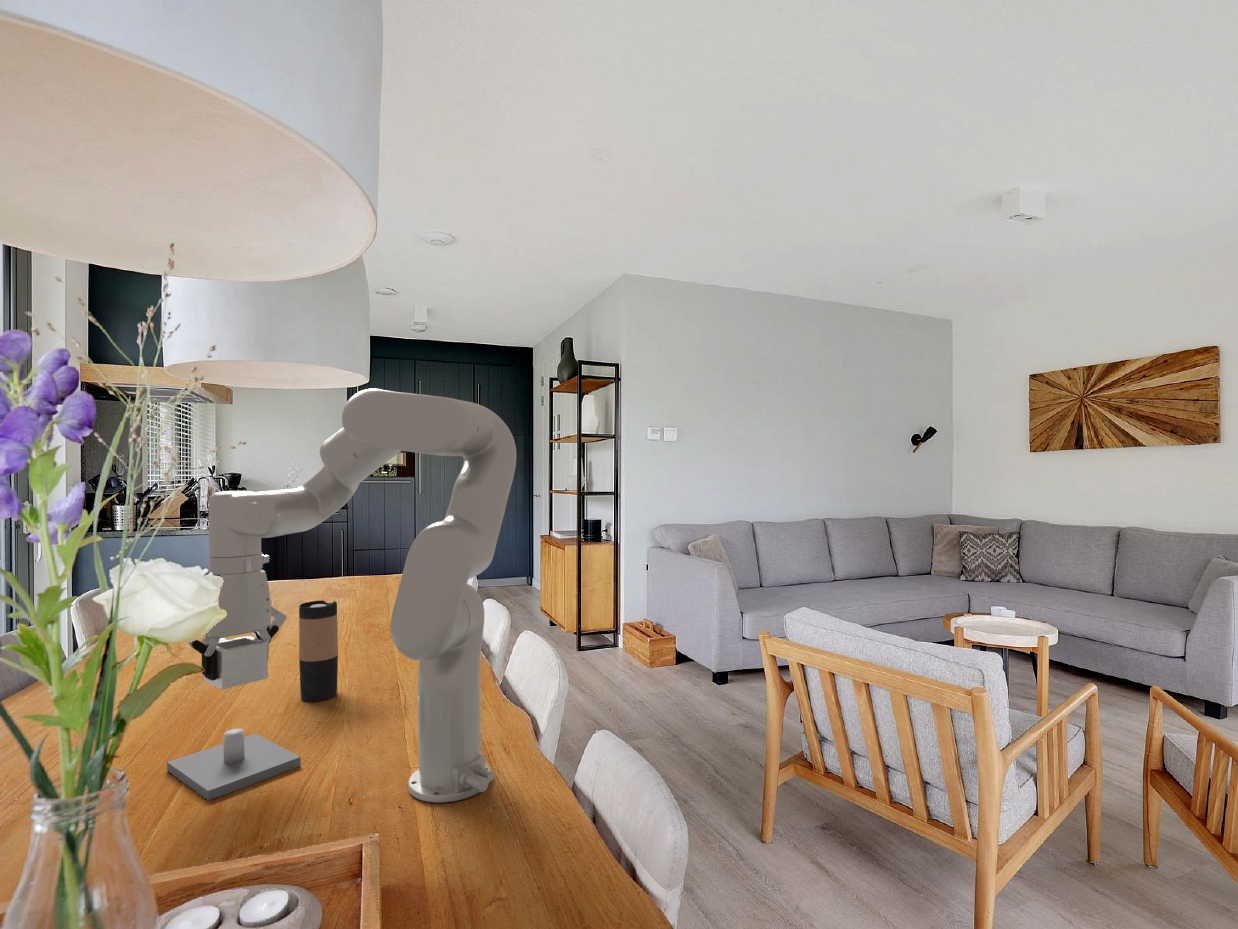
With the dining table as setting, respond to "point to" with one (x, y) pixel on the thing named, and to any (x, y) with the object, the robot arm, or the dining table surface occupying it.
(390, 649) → the dining table surface
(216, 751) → the plate
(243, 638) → the grey hollow block
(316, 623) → the travel mug
